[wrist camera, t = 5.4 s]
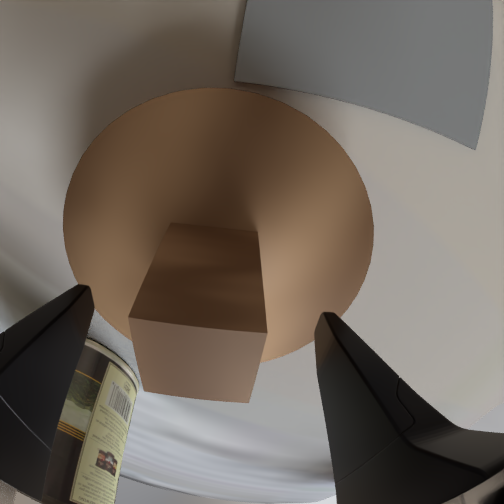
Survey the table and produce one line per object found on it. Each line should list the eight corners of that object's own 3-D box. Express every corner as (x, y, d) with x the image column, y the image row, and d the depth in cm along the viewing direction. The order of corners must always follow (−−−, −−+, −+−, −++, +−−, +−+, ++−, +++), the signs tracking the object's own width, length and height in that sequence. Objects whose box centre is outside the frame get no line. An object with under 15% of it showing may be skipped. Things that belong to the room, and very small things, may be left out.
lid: (401, 126, 9) (510, 172, 4) (319, 360, 16) (338, 449, 11) (65, 90, 8) (-47, 113, 3) (96, 336, 15) (62, 420, 10)
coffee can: (28, 351, 21) (-23, 466, 9) (68, 313, 19) (-5, 478, 6) (103, 407, 26) (77, 518, 14) (162, 386, 23) (140, 537, 11)
